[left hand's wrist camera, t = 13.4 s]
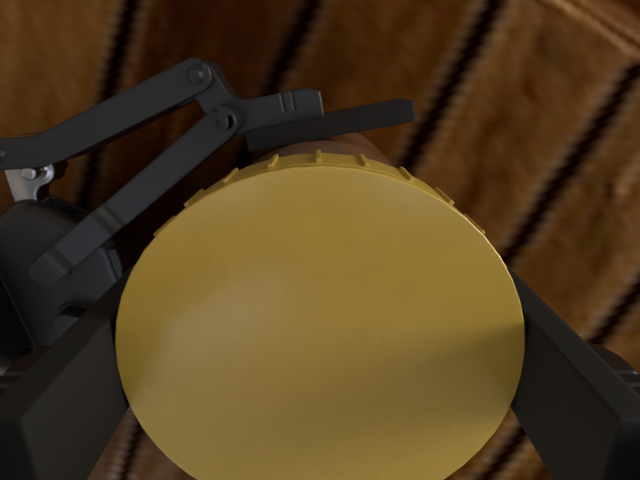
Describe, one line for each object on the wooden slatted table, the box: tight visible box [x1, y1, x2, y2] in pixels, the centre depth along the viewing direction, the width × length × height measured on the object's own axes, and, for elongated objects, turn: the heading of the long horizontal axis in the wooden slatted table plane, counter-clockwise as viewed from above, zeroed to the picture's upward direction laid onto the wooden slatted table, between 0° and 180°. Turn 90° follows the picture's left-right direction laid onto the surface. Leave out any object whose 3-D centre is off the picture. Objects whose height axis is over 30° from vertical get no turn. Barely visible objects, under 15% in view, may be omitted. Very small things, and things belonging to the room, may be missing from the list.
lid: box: [115, 150, 525, 480], centre depth 11 cm, size 10×10×2 cm
